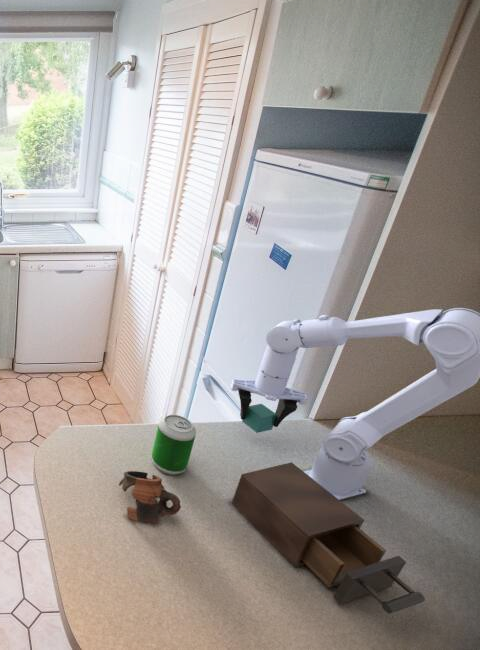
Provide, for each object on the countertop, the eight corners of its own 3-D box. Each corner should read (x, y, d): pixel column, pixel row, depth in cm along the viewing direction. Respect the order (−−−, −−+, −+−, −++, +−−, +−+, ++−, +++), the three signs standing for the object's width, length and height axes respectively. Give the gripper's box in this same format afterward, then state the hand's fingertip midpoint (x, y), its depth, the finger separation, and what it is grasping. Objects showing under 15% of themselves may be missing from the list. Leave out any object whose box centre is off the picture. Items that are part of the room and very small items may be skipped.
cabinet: (348, 550, 84) (364, 519, 80) (294, 567, 81) (309, 536, 77) (280, 490, 96) (291, 462, 93) (231, 503, 93) (241, 474, 90)
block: (256, 418, 110) (261, 403, 108) (272, 429, 106) (277, 414, 104) (241, 421, 109) (246, 406, 107) (256, 433, 105) (261, 417, 103)
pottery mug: (111, 515, 91) (113, 473, 92) (127, 505, 98) (128, 466, 99) (175, 534, 84) (176, 488, 84) (186, 521, 91) (188, 479, 92)
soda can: (189, 479, 99) (201, 436, 94) (153, 474, 100) (163, 432, 95) (181, 455, 106) (192, 414, 101) (148, 451, 107) (157, 410, 102)
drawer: (423, 614, 72) (440, 589, 70) (369, 634, 70) (385, 608, 67) (316, 521, 88) (327, 498, 86) (269, 534, 86) (279, 510, 83)
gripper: (239, 374, 100) (225, 422, 106) (317, 388, 95) (298, 439, 101) (236, 358, 106) (222, 405, 112) (309, 371, 101) (291, 420, 107)
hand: (258, 420), depth 107 cm, fingers closed on block, 6 cm apart
